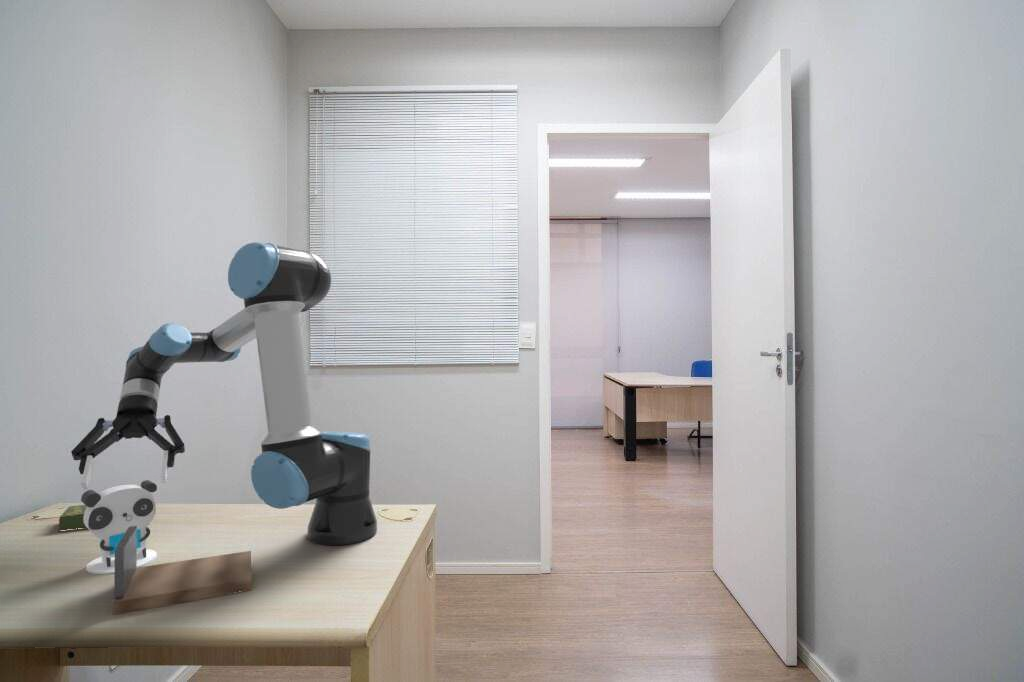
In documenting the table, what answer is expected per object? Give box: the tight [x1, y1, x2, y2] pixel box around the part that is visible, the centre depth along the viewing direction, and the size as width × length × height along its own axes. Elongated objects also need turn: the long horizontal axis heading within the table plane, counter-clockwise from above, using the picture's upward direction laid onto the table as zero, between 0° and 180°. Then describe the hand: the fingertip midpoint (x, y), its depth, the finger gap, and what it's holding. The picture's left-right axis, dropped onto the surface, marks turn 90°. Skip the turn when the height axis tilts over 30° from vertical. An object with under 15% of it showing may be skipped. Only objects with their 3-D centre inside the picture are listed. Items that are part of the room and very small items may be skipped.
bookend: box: [113, 526, 137, 601], centre depth 93 cm, size 1×12×8 cm, turn 26°
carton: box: [58, 504, 87, 531], centre depth 130 cm, size 8×16×4 cm, turn 118°
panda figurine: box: [80, 479, 158, 575], centre depth 107 cm, size 12×11×15 cm
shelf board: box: [112, 550, 253, 616], centre depth 97 cm, size 20×14×2 cm
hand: (125, 483), depth 113 cm, fingers open, 13 cm apart
